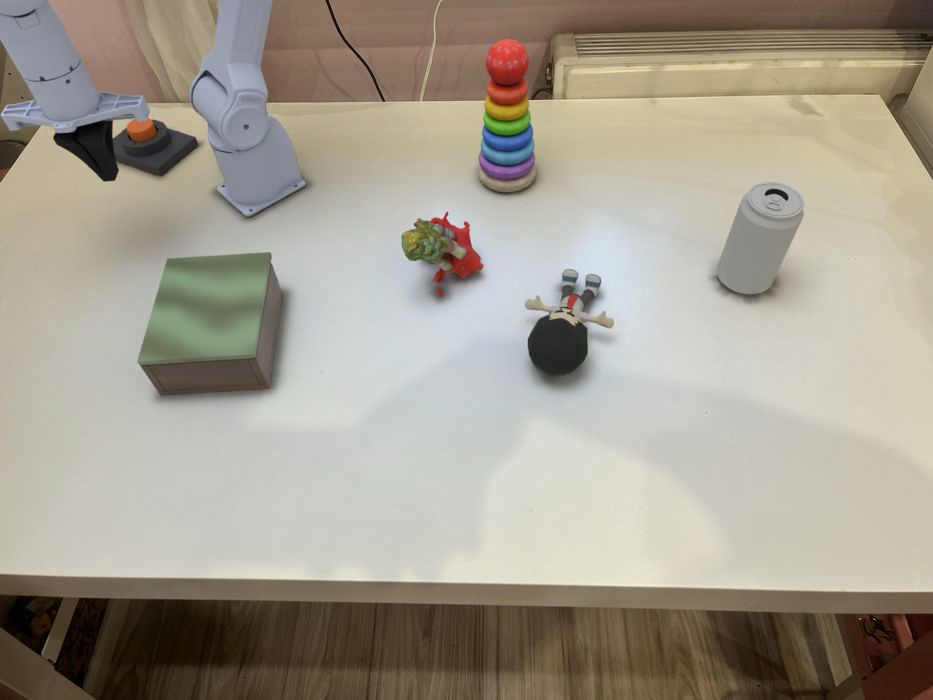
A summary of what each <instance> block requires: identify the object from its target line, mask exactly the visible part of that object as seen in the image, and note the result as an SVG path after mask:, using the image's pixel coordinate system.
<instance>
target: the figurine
mask: <svg viewBox="0 0 933 700" xmlns="http://www.w3.org/2000/svg"><path fill="white" fill-rule="evenodd" d="M578 278H579V273H578V271H577V270H575V269H572V268H567V269H564V270H563V272H562V274H561V298H560V303H559V305H555V304H552V305H546V304H544V303H543V302H542V300H541V298H540V296H539V294H536V296H535V299H531V298H527V299H526V300H525V303H524V307H525V309H526V310H529V311H542V312H546V313H548V314H546V315H543V316H540V317H539V319H538V320H537V321H536V323H535V325H534V326H533V328H532V329H531V331H530V332H529V335H528V337H527V351H528V355H529V358H530V360H531V363H532V365H534V367H535V368H537V369H538V370H541V372H543V373H545V374H546V375H549V376H553V377H555V376H556V377H557V376H565V375H566V376H567V375H570V374H572V373H574V372H575V371H576V370H577V369H578V368H580V366H581V365H582V364H583V363H584V362H585V360H586V358H587V356H588V353H589V335H588V334H589V333H588V332H589V331H588V329H589V328H588V327H587V326H586V325H585V324H584V323H587V322H588V323H593V324H596V325H599V326H601V327H604V328H606V329H612V328H613V327H614V325H615V320H614V319H613V318H612V317H610V316H607V311H606V310H603V311H601V313H600V314H599V315H596V316H592V315H590V314H589V313H588V312H585V311H584V309H585V308H586V306H587V305H588V304H589V303H590V302H591V301H592V300H593V299H595V297H596V296H597V295H598V293H599V289H600V287H601V285H602V278H601V277H600V276H599V275H598V274H594V273H589V274H587V275H586V276H585V278H584V279H585V282H584V283H585V284H584V290H583V291H582V293H581V294H579V293H576V292H574V288H575V286H576V284H577V281H578Z"/></svg>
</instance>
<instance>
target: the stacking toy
mask: <svg viewBox="0 0 933 700" xmlns="http://www.w3.org/2000/svg"><path fill="white" fill-rule="evenodd" d="M529 64H530V59H529V53H528V51H527V49H526V47H525V46H524V45H523V44H522V43H521V42H520V41H517V40H516V39H512V38H503V39H500V40H498V41H496V42H495V43H493V45H491V46H490V47H489V50H488V51H487V53H486V58H485V67H486V71H487V73H488V75H489V77H490V79H489V81H487V85H486V94H487V96H486V98H485V100H484V105H483V106H484V112H483V116H482V121H483V126H482V130H481V135H482V138H481V139H482V140H481V141H480V142H481V143H480V151H479V154H478V163H479V164H478V167H477V175H478V178H479V181H481V183H482V184H483V185H484V186H485V187H487V188H488V189H491V190H492V191H495V192H499V193H514V192H517V191H521V190H523V189H525V188H527V187H529V186H530V185H531V184H532V183H533V182H534V180H535V179H536V177H537V173H538V170H537V169H538V167H537V165H536V155H535V152H534V150H535V140H534V138H533V137H534V128H533V126H532V123H531V122H532V121H531V119H532V114H531V111H530V109H529V108H530V101H529V97H528V96H527V95H528V92H529V84H528V82H527V80H526V79H525V78H524V77H525V75H526V74H527V72H528V69H529Z"/></svg>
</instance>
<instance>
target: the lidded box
mask: <svg viewBox="0 0 933 700" xmlns="http://www.w3.org/2000/svg"><path fill="white" fill-rule="evenodd" d="M283 298H284V293H283V290H282V288H281V285H280V282H279V280H278V276H277V274H276V271H275V268H274V266H273V263H272V262H271V265H270V271H269V277H268V283H267V289H266V295H265V301H264V308H263V314H262V320H261V326H260V332H259V338H258V344H257V350H256V356H255V358H248V359H232V360H216V361H200V362H185V363H169V364H153V365H139V366H140V368H141V369H142V371H143V372H144V373H145V375H146V377H147V378H148V379H149V381H150V382H151V384H152V385H153V386H154V388H155V390H156V391H157V393H158V394H159V395H160V396H171V395H188V394H202V393H204V394H205V393H217V392H233V391H234V392H235V391H251V390H265V389H267V390H268V389H270V387H271V386H270V385H271V379H272V373H273V372H272V371H273V365H274V364H273V363H274V360H275V351H276V345H277V338H278V331H279V324H280V317H281V311H282V304H283Z"/></svg>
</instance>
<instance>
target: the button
mask: <svg viewBox="0 0 933 700" xmlns="http://www.w3.org/2000/svg"><path fill="white" fill-rule="evenodd" d="M152 120H153V119H151V118H149V117H148V118H147V121H145V122H137V121H136V119H131V121H129V122H128V123H127V124H126V127H125V128H126V129H127V131H128V133H129V135H130V137H131V139H132V141H134V142H144V141H147V140H150V139H152V138H153V137H155V136H156V135H157V131H156V128H155V126H154V124H153V122H152Z"/></svg>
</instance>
